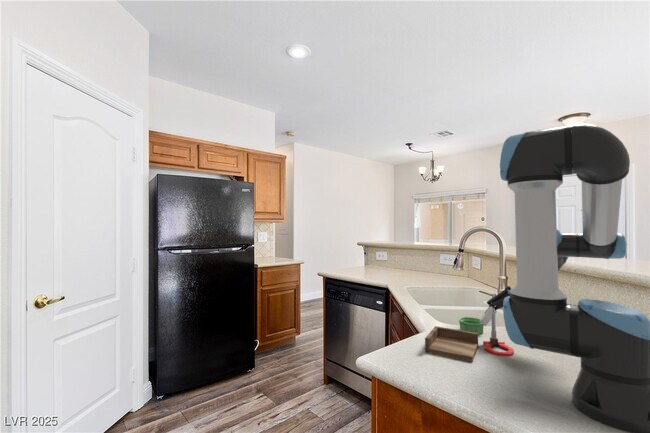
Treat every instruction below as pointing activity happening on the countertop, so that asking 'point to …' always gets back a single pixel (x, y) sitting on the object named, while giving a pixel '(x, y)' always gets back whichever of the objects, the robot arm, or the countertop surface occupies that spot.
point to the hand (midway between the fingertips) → (497, 329)
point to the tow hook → (496, 340)
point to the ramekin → (471, 325)
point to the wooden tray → (452, 343)
